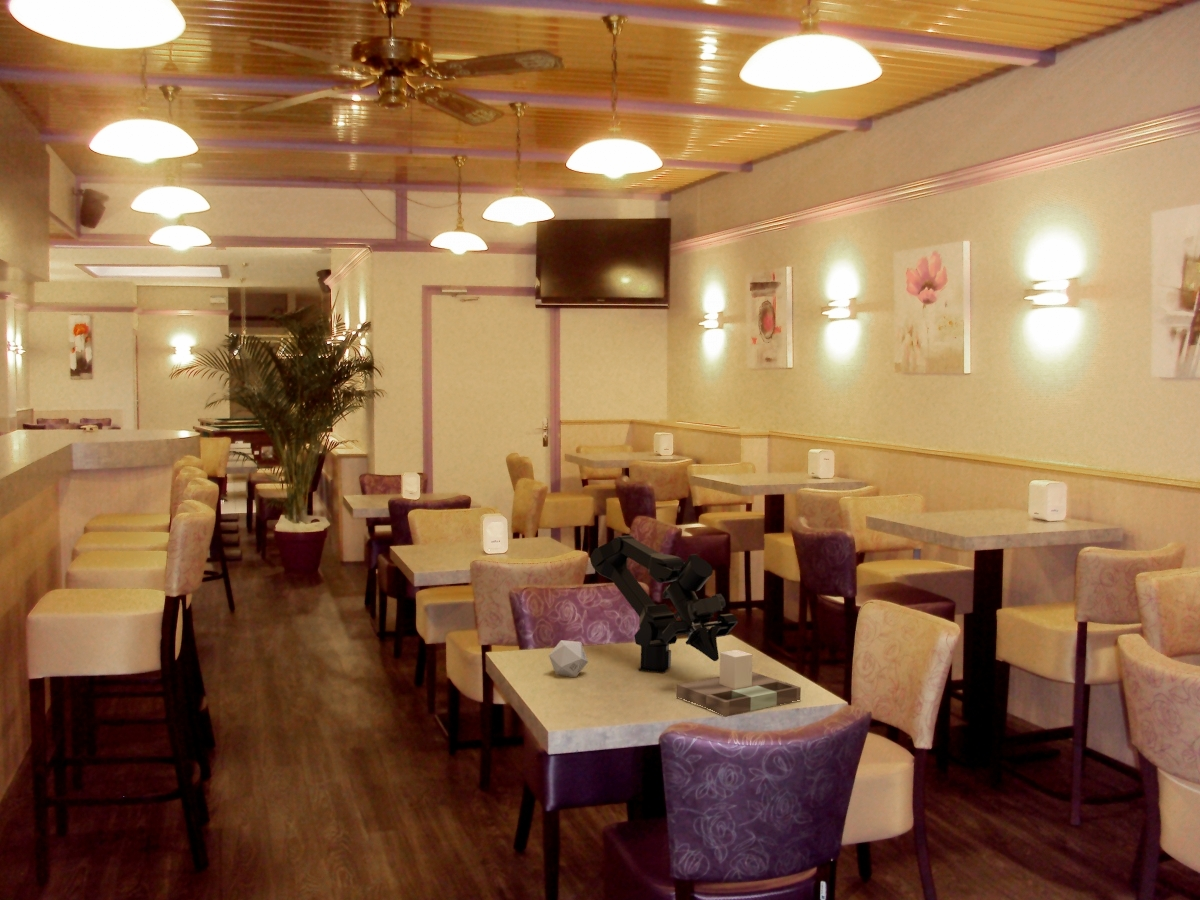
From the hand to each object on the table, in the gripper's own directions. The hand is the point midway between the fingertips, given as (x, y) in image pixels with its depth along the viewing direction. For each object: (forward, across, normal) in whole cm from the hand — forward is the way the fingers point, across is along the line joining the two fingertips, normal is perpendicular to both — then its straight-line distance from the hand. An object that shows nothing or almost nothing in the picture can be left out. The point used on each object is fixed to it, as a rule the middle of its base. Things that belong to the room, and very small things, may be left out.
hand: (716, 660), depth 245 cm
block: (+8, 0, -2) cm, 8 cm away
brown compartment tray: (+10, 0, 0) cm, 10 cm away
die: (-16, -20, +26) cm, 37 cm away
